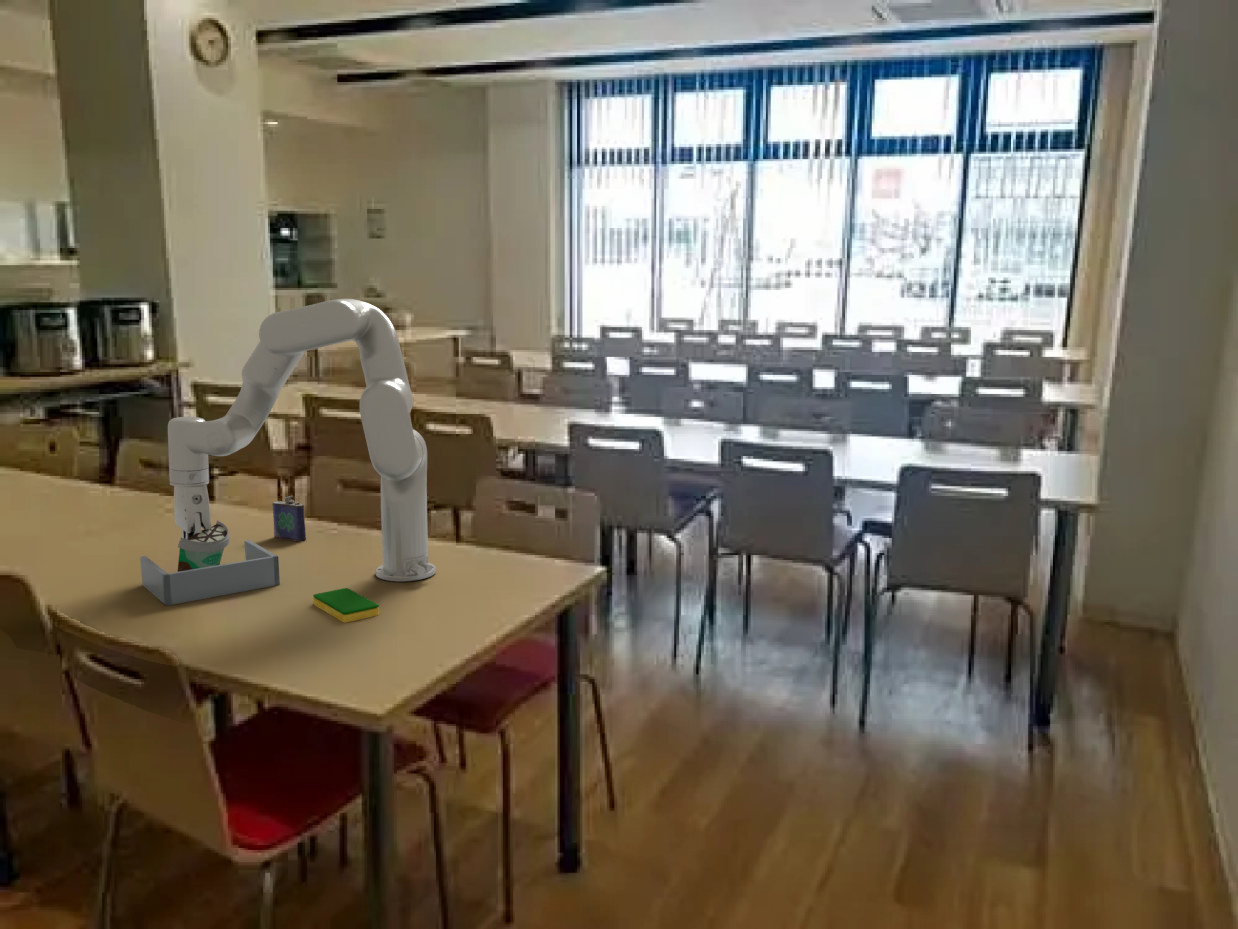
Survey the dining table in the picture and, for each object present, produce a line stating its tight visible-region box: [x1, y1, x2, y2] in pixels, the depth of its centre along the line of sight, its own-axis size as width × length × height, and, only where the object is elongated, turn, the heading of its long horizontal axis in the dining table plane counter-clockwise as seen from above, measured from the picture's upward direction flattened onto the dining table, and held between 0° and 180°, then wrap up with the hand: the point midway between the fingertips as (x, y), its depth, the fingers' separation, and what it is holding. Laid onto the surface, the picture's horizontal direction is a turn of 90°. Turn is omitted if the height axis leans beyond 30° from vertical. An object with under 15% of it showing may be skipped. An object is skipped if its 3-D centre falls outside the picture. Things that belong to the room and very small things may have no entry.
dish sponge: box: [313, 587, 380, 623], centre depth 184 cm, size 7×14×2 cm, turn 41°
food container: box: [177, 519, 231, 572], centre depth 200 cm, size 12×6×10 cm, turn 165°
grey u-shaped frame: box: [139, 539, 281, 607], centre depth 198 cm, size 17×22×6 cm
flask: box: [271, 495, 307, 543], centre depth 234 cm, size 9×3×11 cm, turn 65°
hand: (192, 561), depth 204 cm, fingers closed
